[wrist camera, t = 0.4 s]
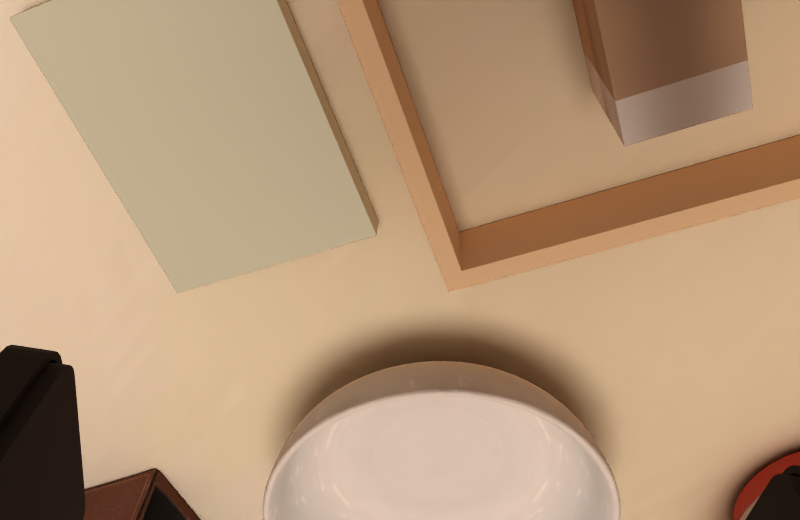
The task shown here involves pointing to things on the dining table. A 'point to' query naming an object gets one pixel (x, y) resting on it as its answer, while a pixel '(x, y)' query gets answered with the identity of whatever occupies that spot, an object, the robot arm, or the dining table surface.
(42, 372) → the robot arm
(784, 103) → the dining table surface
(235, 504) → the dining table surface
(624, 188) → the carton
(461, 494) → the serving bowl
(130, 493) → the letter holder
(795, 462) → the citrus juicer
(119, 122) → the board
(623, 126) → the walnut box
